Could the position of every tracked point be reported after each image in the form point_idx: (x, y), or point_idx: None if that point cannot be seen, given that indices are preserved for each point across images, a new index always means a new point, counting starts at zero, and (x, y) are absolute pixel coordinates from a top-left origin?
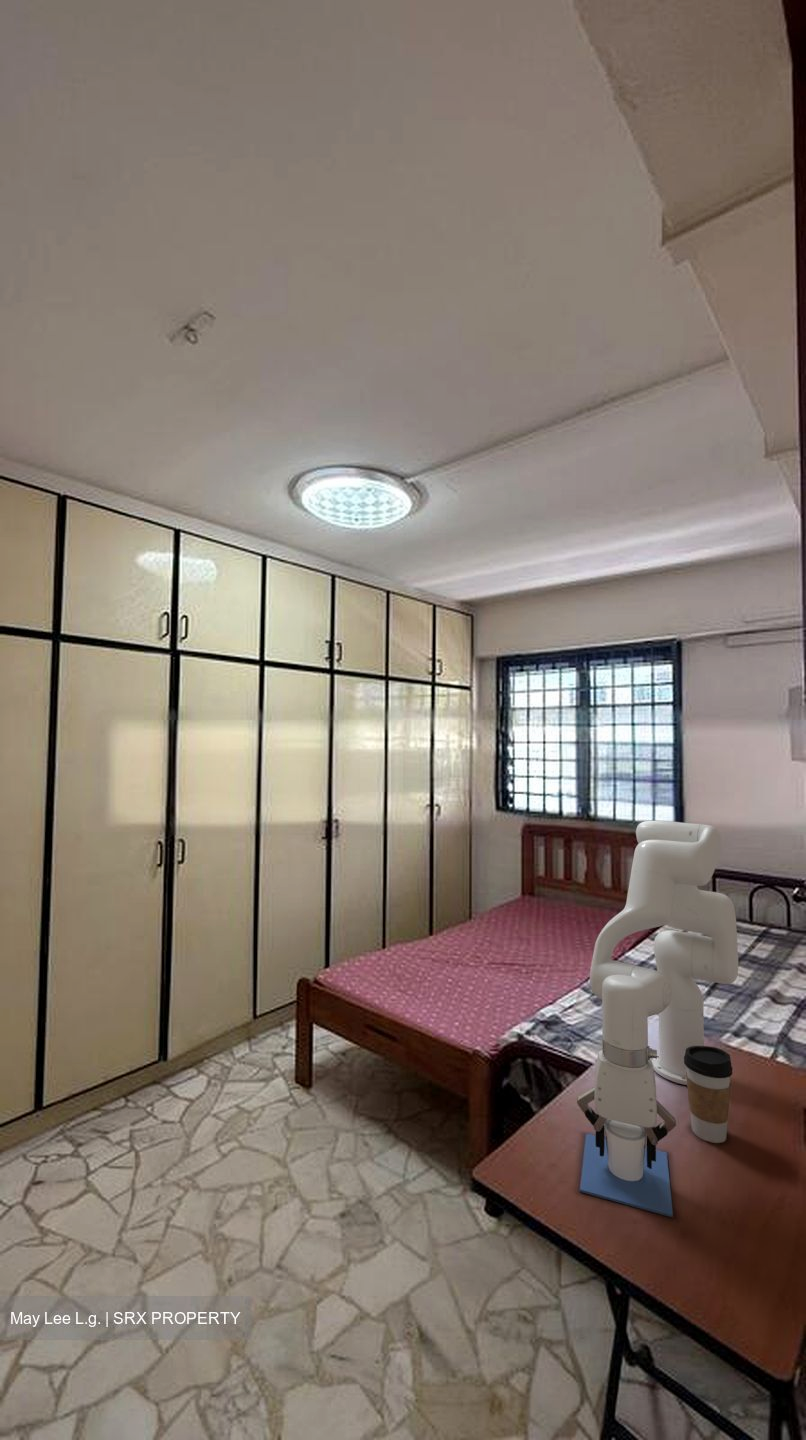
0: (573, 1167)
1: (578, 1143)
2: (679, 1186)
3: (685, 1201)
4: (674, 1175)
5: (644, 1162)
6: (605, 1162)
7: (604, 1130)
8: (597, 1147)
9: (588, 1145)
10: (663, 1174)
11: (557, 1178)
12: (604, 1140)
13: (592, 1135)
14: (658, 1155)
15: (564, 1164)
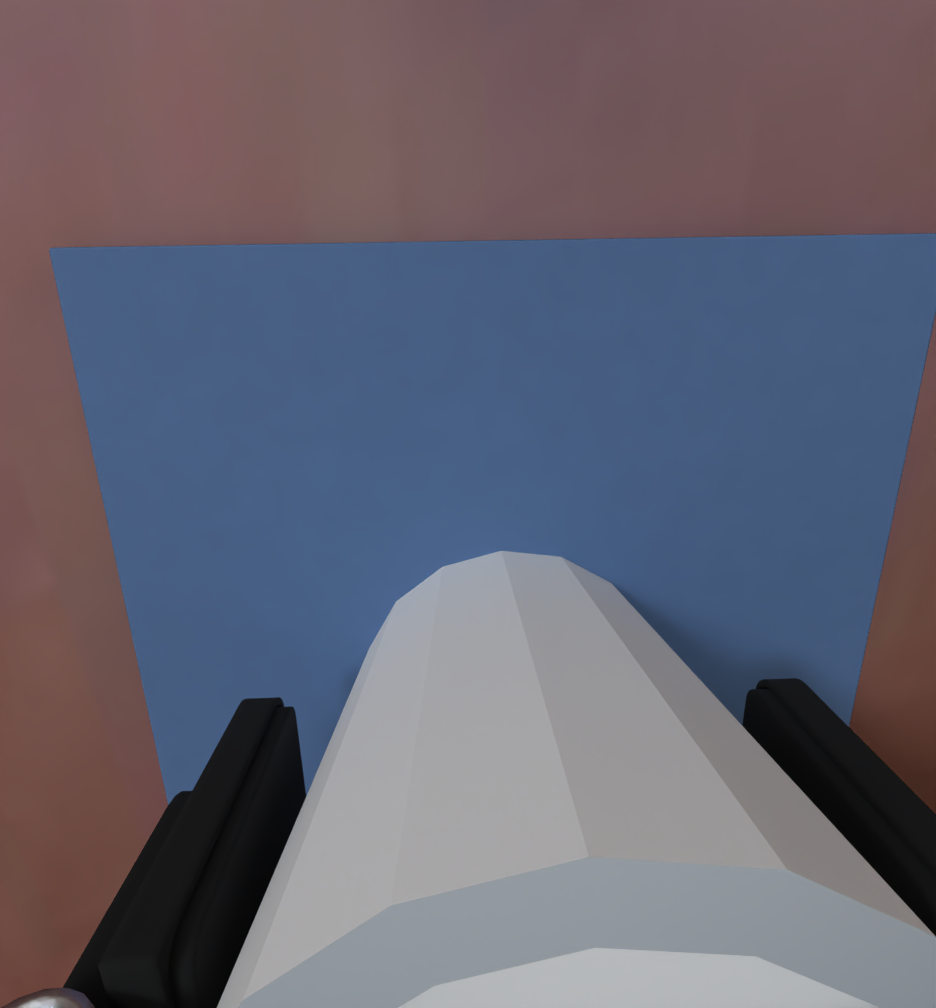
0: (103, 780)
1: (36, 446)
2: (918, 658)
3: (914, 789)
4: (917, 542)
5: (684, 516)
6: (336, 667)
7: (228, 860)
8: (228, 480)
9: (136, 487)
10: (829, 616)
11: (36, 923)
12: (274, 756)
13: (129, 270)
14: (846, 341)
15: (26, 776)
